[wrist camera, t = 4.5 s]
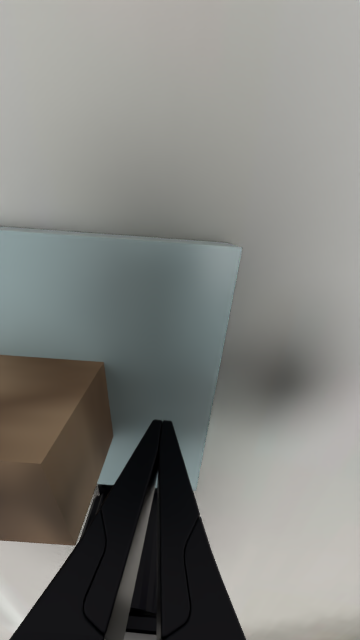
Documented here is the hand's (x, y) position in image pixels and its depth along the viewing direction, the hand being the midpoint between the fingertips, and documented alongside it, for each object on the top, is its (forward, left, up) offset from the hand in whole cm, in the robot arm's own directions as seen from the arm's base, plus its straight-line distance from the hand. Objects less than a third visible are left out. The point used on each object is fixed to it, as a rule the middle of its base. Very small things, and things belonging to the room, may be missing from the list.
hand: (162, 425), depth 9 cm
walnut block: (+5, 0, -1) cm, 5 cm away
